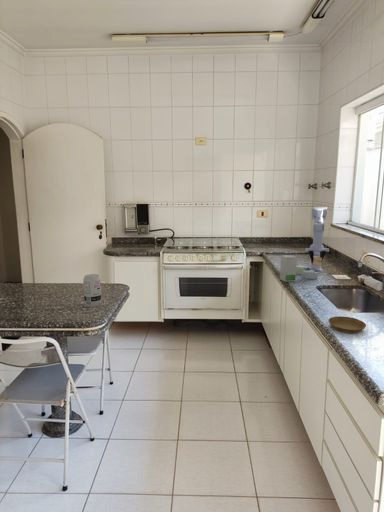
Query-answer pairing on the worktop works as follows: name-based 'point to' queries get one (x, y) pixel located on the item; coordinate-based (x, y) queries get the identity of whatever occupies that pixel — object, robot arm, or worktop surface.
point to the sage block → (300, 270)
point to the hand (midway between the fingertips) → (316, 262)
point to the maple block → (316, 261)
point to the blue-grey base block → (310, 274)
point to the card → (341, 277)
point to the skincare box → (288, 268)
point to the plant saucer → (347, 324)
